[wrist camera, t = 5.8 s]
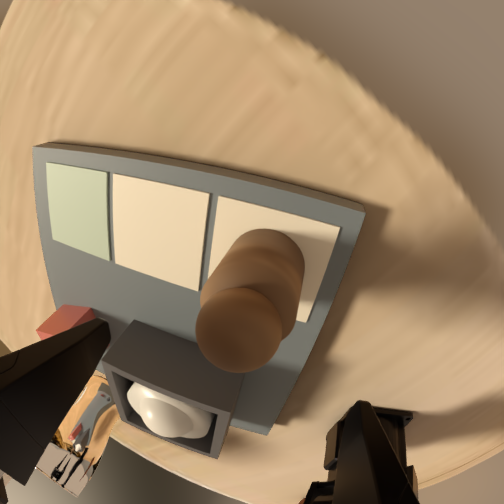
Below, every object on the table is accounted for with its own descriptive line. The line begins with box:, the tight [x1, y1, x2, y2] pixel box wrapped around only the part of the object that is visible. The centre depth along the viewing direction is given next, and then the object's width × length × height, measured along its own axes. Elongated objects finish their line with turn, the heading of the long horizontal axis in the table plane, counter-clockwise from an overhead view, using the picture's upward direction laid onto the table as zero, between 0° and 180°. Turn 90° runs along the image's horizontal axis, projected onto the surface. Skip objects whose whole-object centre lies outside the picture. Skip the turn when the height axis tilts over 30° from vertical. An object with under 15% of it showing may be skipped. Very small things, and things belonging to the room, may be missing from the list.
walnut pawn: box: [195, 228, 305, 373], centre depth 12 cm, size 4×4×7 cm
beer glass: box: [35, 376, 120, 497], centre depth 24 cm, size 7×7×15 cm
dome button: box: [127, 382, 215, 438], centre depth 19 cm, size 6×6×4 cm
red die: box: [36, 304, 110, 348], centre depth 21 cm, size 4×4×4 cm
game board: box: [33, 143, 366, 459], centre depth 18 cm, size 22×22×6 cm
